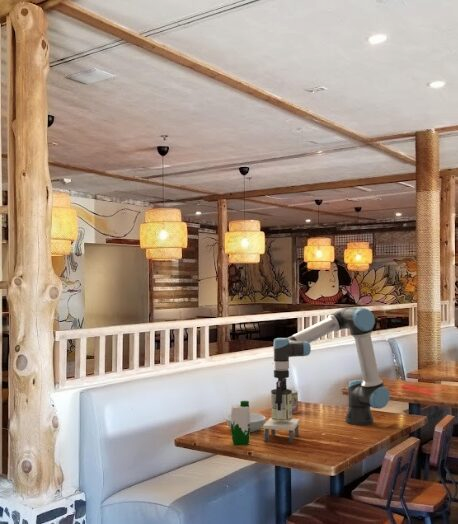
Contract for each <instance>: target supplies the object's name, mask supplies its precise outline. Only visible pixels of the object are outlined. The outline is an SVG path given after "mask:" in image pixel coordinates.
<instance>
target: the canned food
mask: <svg viewBox="0 0 458 524" xmlns="http://www.w3.org/2000/svg"><path fill="white" fill-rule="evenodd" d="M291 390H292V414H297V413H298V412H299V404H298V403H299V400H298V399H299V398H298V395H299V393H298V392H299V391H298V390H295V389H291Z"/></svg>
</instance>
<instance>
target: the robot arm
mask: <svg viewBox="0 0 458 524" xmlns="http://www.w3.org/2000/svg"><path fill="white" fill-rule="evenodd" d="M375 324H376V319H375V315H374V314H373V312H372V310H370V309H368V308H365V307H352V306H348V307H344V308H342V309H338V310H337V311H335V312H333V313H331V314H329V315H328V316H327V318H325V319H323V320H321V321H319V322H317V323H315V324H313V325H310V326H309V327H307V328H305V329H303V330H300V331H299V332H297V333H294V334H292V335H291V336H288V337H277V338H274V339H273V346H272V347H273V348H272V349H273V362H272V365H273V369H274V370H273V378H274V379H275V378H276V379H277V381H276V383H275V384H276V386H275V387H276V388H275V389H276V402H275V403H276V404H277V417H283V414H282V395H281V393H282V392H283V390H285V389H288V388H287V386H288V385H287V378H289V377H290V370H289V368H290V358H291V357H294V358H296V357H308V356H309V355H310V354H311V351H312V350H311V349H312V347H311V344H310V343H313V342H314V341H317V340H318V339H320V338H322V337H324V336H326V335H329V334H330V333H332V332H338V331H341V330H344V329H345V330H346V329H347V330H349V333H350V335H351V336H352V337H353V338H354V342H355V343H354V344H355V347H356V352H357V357H358V364H359V367H360V373H361V377H362V379H354V380H349V381H348V385H347V389H348V390H347V393H348V395H347V399H348V409H347V412H346V415H345V422H346V423H347V424H348V425H349V424H350V425H355V426H356V425H357V426H367V425H368V426H369V425H372V424H374V421H375V420H374V415H373V413H372V410H371V408H373V409H377V410H379V409H383V408H385V407H386V406H387V405H388V403H389V402H390V398H391V393H390V391H389V389H387V387H386V386H384V382H383V381H384V380H383V379H381V378H380V376H379V375H380V374H379V371H378V370H379V369H378V365H377V360H376V356H375V350H374V345H373V341H372V335H371V334H372V333H373V328H374V326H375ZM279 400H280V401H279Z"/></svg>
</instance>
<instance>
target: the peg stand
mask: <svg viewBox="0 0 458 524" xmlns="http://www.w3.org/2000/svg"><path fill="white" fill-rule="evenodd" d="M300 420H301V419H300V418H292V420H290V421H274V420H272V417H270V418H269V419H268V420H266V421H265V424H264V425H263V427H262V429H264V442H265V443H269V441H270V436H269V435H273V436H274V435H276V430H278V431H279V430H281V431H288V444H290V445H291V444H292V445H293V444H294V437H299V424H300V422H301V421H300ZM270 430H271V431H270Z"/></svg>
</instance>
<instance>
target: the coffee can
mask: <svg viewBox="0 0 458 524" xmlns="http://www.w3.org/2000/svg"><path fill="white" fill-rule="evenodd" d="M292 390H293V389H289V388H287V389H285V390H283V392H282V393H281V395H282V414H283V417H277V404H276V403H275V402H276V388H275V389H274V388H273V389H271V390H270V394H271V418H272V420H274V421H290V420H292V419H293V413H292ZM279 401H280V400H279Z"/></svg>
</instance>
